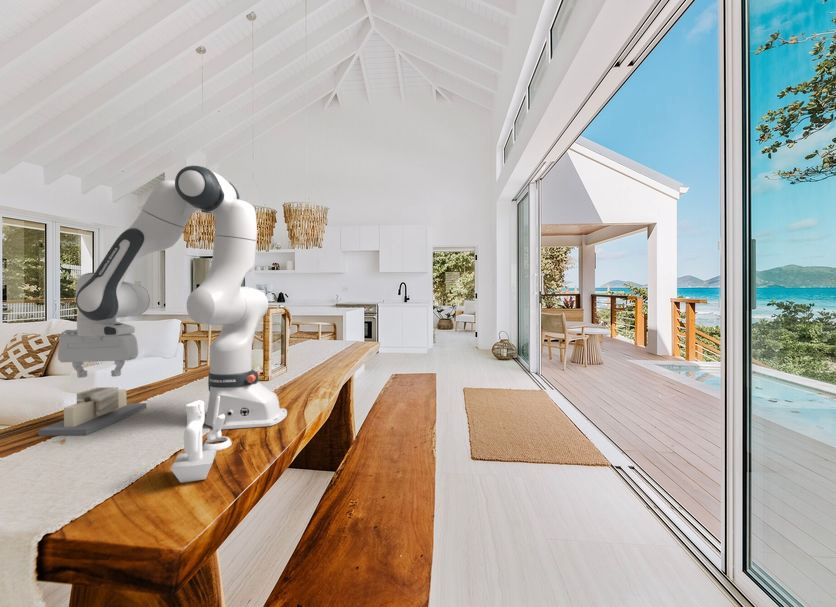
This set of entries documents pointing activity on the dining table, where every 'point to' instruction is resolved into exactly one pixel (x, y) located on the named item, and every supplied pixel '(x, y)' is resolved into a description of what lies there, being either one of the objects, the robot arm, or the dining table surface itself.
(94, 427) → the cleat board
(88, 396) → the cabinet block
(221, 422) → the hook
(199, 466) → the figurine
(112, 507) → the dining table surface
